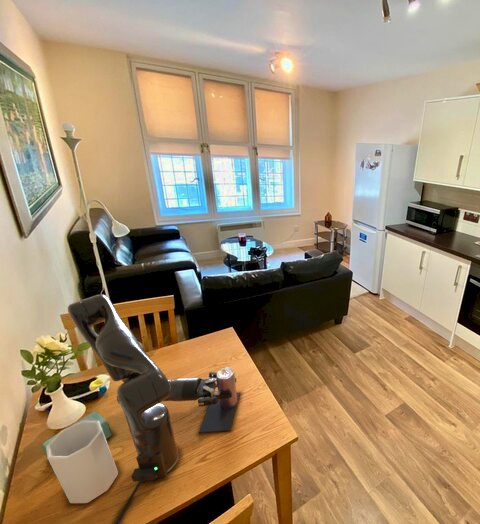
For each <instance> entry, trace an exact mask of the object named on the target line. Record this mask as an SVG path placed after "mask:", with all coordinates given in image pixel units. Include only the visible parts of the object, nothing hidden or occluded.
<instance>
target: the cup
mask: <svg viewBox="0 0 480 524" xmlns="http://www.w3.org/2000/svg"><path fill="white" fill-rule="evenodd" d="M77 422H78V421H77ZM75 423H76V422H75ZM73 424H74V423H73ZM73 424H71V425H72V426H71V425H69V426H70V427H69V426H68V427H66V428H63V429H61V430H60V431H59V432H58V433H57V434H56V435H57V436H56V437H55V438H54V439H53V440H52V441H51V442H50V443H49V444H48V445H47V446H46V451H47V457H46V458H47V461H48V462H49V464H50V467H51V468H52V470H53V472H54V474H55V476H56V478H57V480H58V482H59V484H60V486H61V488H62V491H63V492H64V494H65V496H66V498H67V500H68V502H69V504H88V503H90V502H91V501H93V500H95V499H96V498H98V497H99V496H101V495H103V494H104V493H106V492H107V491H108V490H110V489H109V488H111V486H112V484H113V483H114V481H115V479H116V478H117V477H118V475H119V471H118V469H117V465H116V461H115V460H114V457H113V455H112V451H111V449H110V446H109V444H108V441H107V439H106V438H105V436H104V433H103V430H102V428H101V425H100V422H99V421H80V422H78V423H76V424H74V425H73Z"/></svg>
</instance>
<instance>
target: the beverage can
mask: <svg viewBox="0 0 480 524" xmlns="http://www.w3.org/2000/svg"><path fill="white" fill-rule="evenodd" d="M217 372H218V373H217V377H216V378H217V382H216V383H217V386H218V387H217V392H220V393H221V392H230V391H231V392H232V397H231V398H227V399H220V400H219V402H220V406H221V407H222V408H223V409H230V408H232V407H233V406H235V404H236V402H237V395H236V393H237V385H236V383H235V378H236V376H235V375H236V374H235V371H234V369H233V368H232V367H228V366H226V367H223V368H221V369H219V370H218V371H217Z"/></svg>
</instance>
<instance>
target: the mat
mask: <svg viewBox="0 0 480 524" xmlns="http://www.w3.org/2000/svg"><path fill="white" fill-rule="evenodd" d="M236 395H237V402H236V404H235V406H233V407H232V408H230V409H223V408H222V407H221V406H220V402H219V400H218V401H217V404H214V405H208V406H207V407H208V408H207V410H206V413H205V415H204V418H203V421H202V424H201V426H200V429H199V434H206V433H208V434H209V433H223V432H231V430H232V427H233V422H234V419H235V415H236V411H237V407H238V403H239V400H240V396H241V392H236Z"/></svg>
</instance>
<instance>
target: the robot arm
mask: <svg viewBox="0 0 480 524" xmlns="http://www.w3.org/2000/svg"><path fill="white" fill-rule="evenodd" d="M67 313H68V316H69V318H70V319H71V322H72V323H73V325H74V326H75V327H76V329H77V331H78V332H79V334H81V336H82V337H83V338H84V340H85V341H86V343H87V345H88V346H89V347H90V348H91V349H92V350H93V352H94V353H95V354H96V355H97V357H98V359H99V360H100V361H101V363H102V365H103V366H104V368H105V370H106V373H108V375H109V377H110V379H111V380H112V381H113V382H120V381H121V382H123V383H121V384H120V385H118V387H117V390H116V402H117V403H118V404H119V405H120V407H121V409H122V412H123V414H124V416H125V419H126V422H127V425H128V428H129V432H130V435H131V439H132V442H133V445H134V447H135V451H136V454H137V456H136V458H135V459H136V463H137V465H138V468H137V467H136V468H134V470H133V472H132V474H131V475H130V477H131V480H132V482H133V483H134V482H137V484H136V486H135V487H134V489H133V491H132V492H131V494H130V495H129V497H128V499H127V501H126V503H125V504H124V506H123V508H122V509H121V511H120V513H119V515H118V517H117V518H116V520H115V522H113V524H119V522H120V521H121V519H122V517H123V515H124V514H125V512H126V511H127V508H128V507H129V505H130V504H131V501H132V500H133V498H134V496H135V495H136V493H137V491H138V490H139V488H140V486H141V485H142V483H143V482H146V481H147V482H148V481H154V480H155V479H161V478H162V479H163V478H166V477H167V475H168V474H169V473H170V472H171V471H172V470H173V469H174V468H175V466H176V465H177V464H178V461H179V459H180V452H179V449H178V445H177V441H176V436H175V433H174V429H173V425H172V420H171V416H170V411H169V408H168V407H167V406H166V405H165V404H163V403H162V402H190V401H191V402H192V401H197V406H198V407H199V408H201V407H209V405H214V404H217V401H218V400H220V399H227V398H231V397H232V392H231V391H230V392H221V393H220V392H218V390H217V391H216V389H217V388H218V386H217V378H216V377H217V373H218V371H217V372H213V371H209V373H208V377H207V378H200V377H185V378H183V377H182V378H176V379H175V378H174V379H168V377H167V375H166V374H165V373H164V372H163V371H162V370H161V369H160V368H159V366H158V365H157V364H156V363H155V362H154V360H152V359H151V358H150V357H149V355H148V354H147V352H146V351H145V349H143V347H142V345H141V343H140V342H139V340H138V339H137V337H136V335H135V334H134V333H133V332H132V330H131V329H130V328H129V327H128V326H127V325H126V323H125V322H124V321H123V319H122V318H121V316H120V313H119V312H118V311H117V309H116V307H115V305H114V303H113V302H112V300H111V298H109V297H108V296H107V295H105V294H103V293H102V294H96V295H92V296H90V297H87V298H84V299H81V300H77V301H76V302H72V303H70V304H69V305H68V306H67ZM102 322H103V325H102V326H101V329H100V331H98V333H96V331H95V330H94V329H93V328H92V327H93V326H95V325H98V324H100V323H102ZM236 383H237V377H235V384H236Z"/></svg>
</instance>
